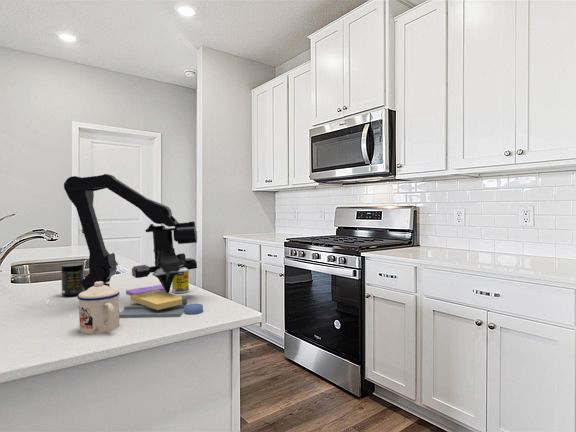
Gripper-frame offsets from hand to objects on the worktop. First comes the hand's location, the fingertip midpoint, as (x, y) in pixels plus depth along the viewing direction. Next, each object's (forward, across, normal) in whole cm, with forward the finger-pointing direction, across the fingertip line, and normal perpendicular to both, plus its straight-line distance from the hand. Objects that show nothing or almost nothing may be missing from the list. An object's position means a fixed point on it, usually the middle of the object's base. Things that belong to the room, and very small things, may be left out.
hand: (167, 294), depth 117 cm
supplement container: (+1, -24, +28) cm, 37 cm away
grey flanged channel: (+2, -8, -11) cm, 14 cm away
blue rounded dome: (+2, +2, -18) cm, 18 cm away
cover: (0, -4, -5) cm, 7 cm away
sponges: (+3, -2, +17) cm, 18 cm away
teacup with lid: (+1, -21, -18) cm, 28 cm away
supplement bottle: (+3, +8, +10) cm, 13 cm away
